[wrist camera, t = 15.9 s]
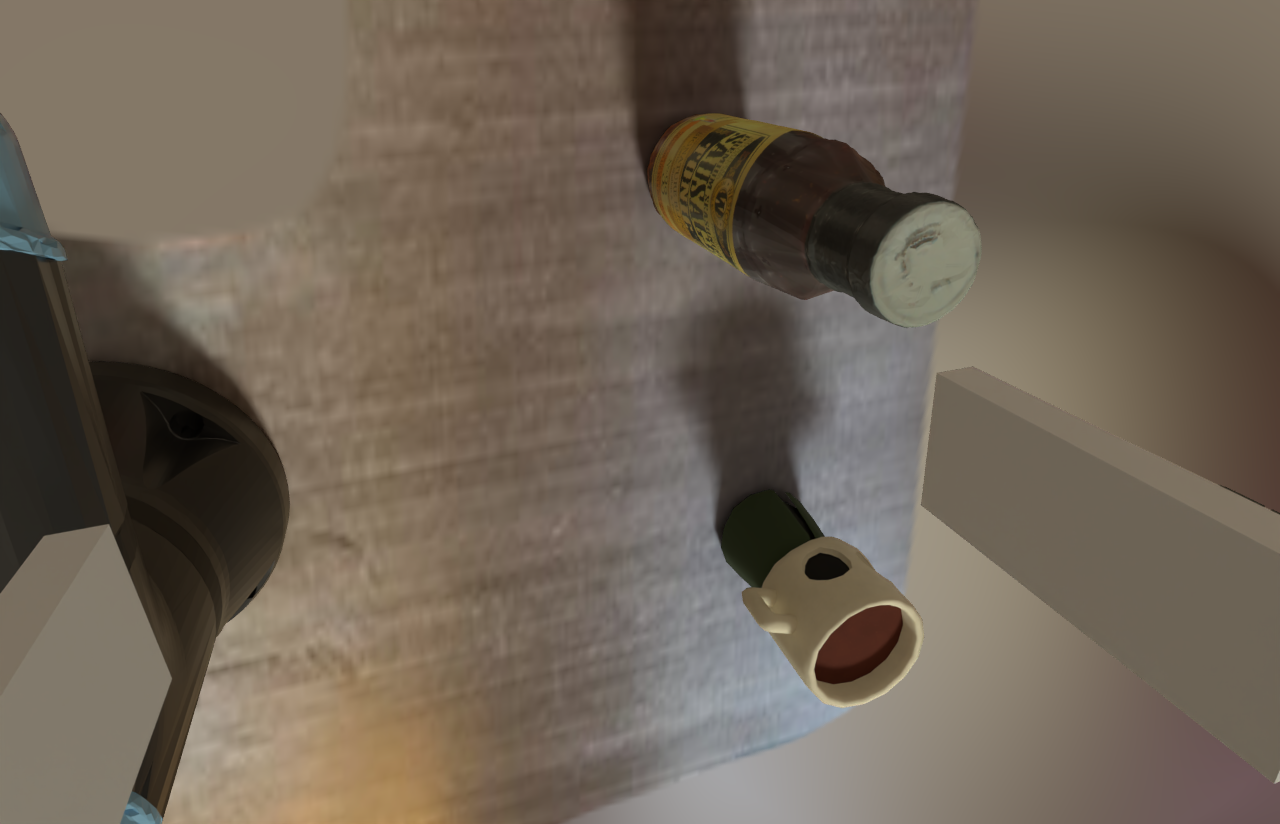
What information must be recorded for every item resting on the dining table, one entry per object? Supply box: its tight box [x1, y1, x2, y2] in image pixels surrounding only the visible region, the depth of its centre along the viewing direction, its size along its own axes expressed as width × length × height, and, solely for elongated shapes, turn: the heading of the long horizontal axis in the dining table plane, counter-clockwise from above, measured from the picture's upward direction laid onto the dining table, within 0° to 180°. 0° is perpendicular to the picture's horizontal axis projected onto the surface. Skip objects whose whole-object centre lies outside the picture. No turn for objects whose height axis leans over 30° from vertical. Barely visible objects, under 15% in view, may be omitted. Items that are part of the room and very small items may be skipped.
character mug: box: [721, 490, 924, 708], centre depth 45 cm, size 11×7×13 cm, turn 71°
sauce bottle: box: [647, 113, 982, 328], centre depth 31 cm, size 6×6×20 cm
